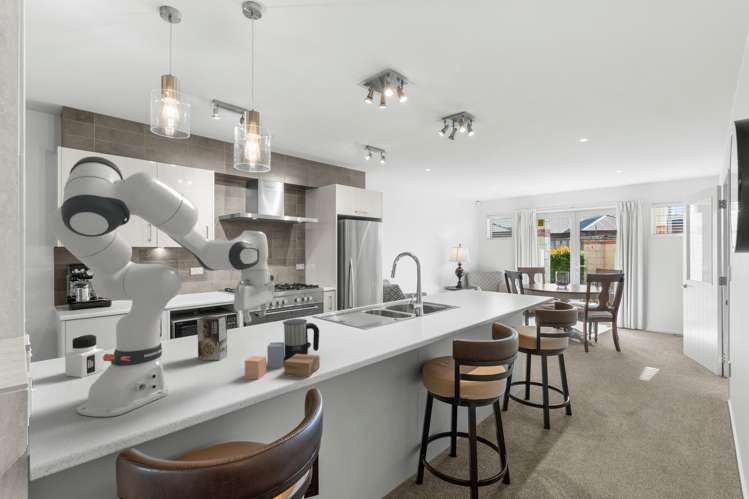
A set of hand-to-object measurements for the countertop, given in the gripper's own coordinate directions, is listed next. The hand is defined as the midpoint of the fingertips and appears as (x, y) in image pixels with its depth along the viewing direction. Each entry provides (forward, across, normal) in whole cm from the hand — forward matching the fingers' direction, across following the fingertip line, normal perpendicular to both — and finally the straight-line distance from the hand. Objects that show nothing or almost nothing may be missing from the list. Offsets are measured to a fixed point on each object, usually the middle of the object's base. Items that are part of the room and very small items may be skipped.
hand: (255, 319), depth 125 cm
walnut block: (+20, +7, -14) cm, 25 cm away
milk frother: (+20, +24, -5) cm, 31 cm away
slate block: (+20, +11, -2) cm, 22 cm away
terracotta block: (+20, 0, 0) cm, 20 cm away
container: (+20, -9, +60) cm, 64 cm away
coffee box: (+20, +15, +27) cm, 37 cm away
